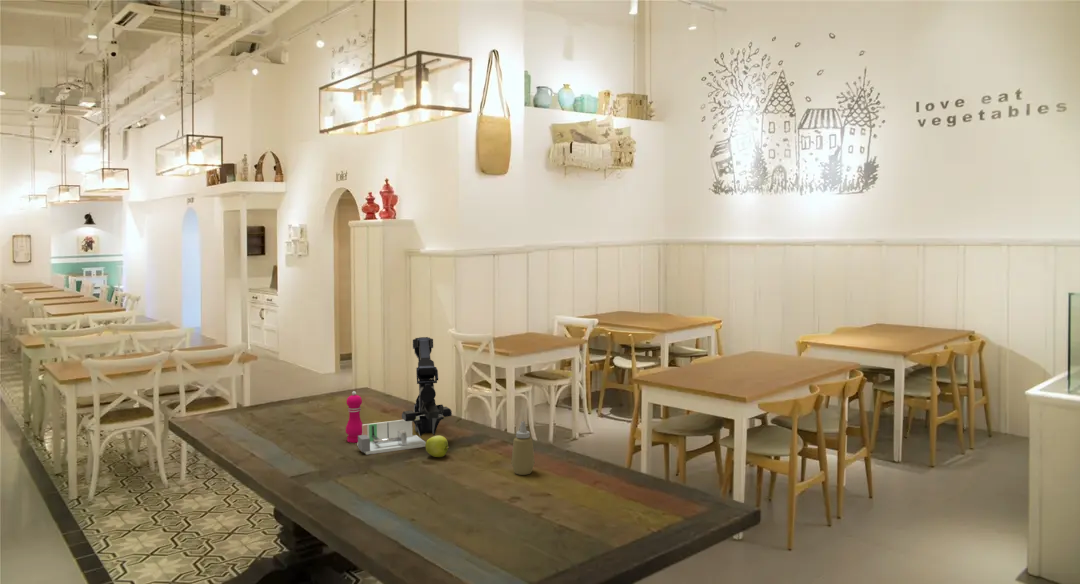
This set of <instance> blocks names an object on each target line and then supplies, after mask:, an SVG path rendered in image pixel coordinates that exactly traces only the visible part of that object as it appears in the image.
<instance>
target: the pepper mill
mask: <svg viewBox="0 0 1080 584" xmlns="http://www.w3.org/2000/svg"><path fill="white" fill-rule="evenodd" d="M362 399H363V398H362V396H360V395H358V394H357V392H356V391H354V390H353V391H352V392H351V395H349V396H348V397H347V398H346V405H347V406H348V408H347V411H348V414H349V415H348V417H349V418H348V421H347V423H346V426H345V433H346V434H347V436H346V442H347V443H356V444H357V443H358V436H359V435H362V425H363V424H364V423H363V421H362V419H361V415H360V414H361V411H362V410H361V409H362V407H361V406H362V405H363V400H362Z"/></svg>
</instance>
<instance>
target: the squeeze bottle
mask: <svg viewBox="0 0 1080 584" xmlns="http://www.w3.org/2000/svg"><path fill="white" fill-rule="evenodd" d="M530 434H531V433H530V431H528V430H527V426H526V422H525V421H520V425H519V429H518V430H517V431H516V434H515V436H516V437H514V438H513V442H512V443H513V444H512V452H511V453H512V454H511V466H512V468H513V471H514V474H516V475H520V476H521V475H523V476H525V475H530V474H531V473H532V472H533V469H534V465H535V462H536V461H535V454H534V453H535V452H534V451H535V450H534V444H533V443H534V442H533V438H531V435H530Z"/></svg>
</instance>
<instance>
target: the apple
mask: <svg viewBox="0 0 1080 584" xmlns="http://www.w3.org/2000/svg"><path fill="white" fill-rule="evenodd" d="M425 442H426V444H425V447H424V448H425V452H426V453H428V455H430V456H431V457H435V458H443V457H444V456H445V455H446V454H447V452H448V450H449V448H450V447H449V442H448V439H447V438H446V437H445V436H443V435H433V436H431V437H430V438H428V439H427V440H426V441H425Z"/></svg>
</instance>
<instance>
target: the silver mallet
mask: <svg viewBox="0 0 1080 584" xmlns="http://www.w3.org/2000/svg"><path fill="white" fill-rule="evenodd" d="M372 438H373V439H374V441H373V443H374V444H381V443H389V442H396V441H398V443H399V444H400V445H401V446H403V445H407V436H406V432H405V431H404V430H398V437H394V438H387V439H379V438H378V437H376V436H375V435H374V426H372Z"/></svg>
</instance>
